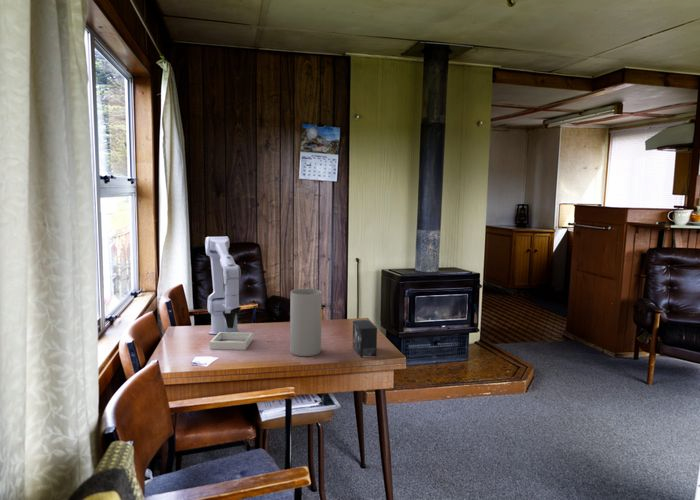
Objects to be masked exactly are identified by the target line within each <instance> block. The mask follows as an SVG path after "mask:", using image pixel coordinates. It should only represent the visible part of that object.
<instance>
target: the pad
mask: <svg viewBox="0 0 700 500" xmlns="http://www.w3.org/2000/svg"><path fill="white" fill-rule="evenodd" d="M224 342H243V340H225V341H224Z"/></svg>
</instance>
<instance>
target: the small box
mask: <svg viewBox="0 0 700 500" xmlns="http://www.w3.org/2000/svg"><path fill="white" fill-rule="evenodd" d="M377 335H378V328H377V327H376V325H374V323H372V322H371V321H370V320H369V319H359V320H352V348H354V349H355V350H356V351H355V350H354V349H353V350H354V351H355V352H356V353H357V355H360V356H361V357H360V356H359V357H360V358H364V357H363V356H375V357H378V356H377V355H378V354H377V352H378V351H377V350H378V349H377V348H378V345H377V344H378V338H377V337H378V336H377Z"/></svg>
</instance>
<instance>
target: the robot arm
mask: <svg viewBox="0 0 700 500" xmlns="http://www.w3.org/2000/svg"><path fill="white" fill-rule="evenodd" d="M204 246H205V247H204V249H205V254H206V256H208V257H209V259H210V266H211V267H210V268H211V280H212V289H213V290H212V293H211V294H209V295H208V296H207V302H206V303H207V305H206V306H207V307H206V308H207V311H208V313H209V314H210V319H211V320H210V321H211V322H210V325H211V328H210V329H211V330H210V331H209V332H208V335H217V334H218V333H219V332H225V319H226V323H227V327H228V328H233V326H234V319H235V316H236V314H237V319H238V316H239V314H240V311H241V309H242V307H240V295H239V294H240V291H239V290H240V280H241V276H242V273H241V272H242V271H241V267H240V265H238V264H236V262H235V260H234V257H233V255H231V254H230V253H229V248H230V238H229V237H228V236H226V235H225V236H207V237H205V240H204Z"/></svg>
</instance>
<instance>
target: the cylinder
mask: <svg viewBox="0 0 700 500" xmlns="http://www.w3.org/2000/svg"><path fill="white" fill-rule="evenodd" d="M238 329H239V328H238V318H237V314H236V316H235V319H234V326H233V328H228V327H227V323H226V319H225V332H238Z"/></svg>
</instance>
